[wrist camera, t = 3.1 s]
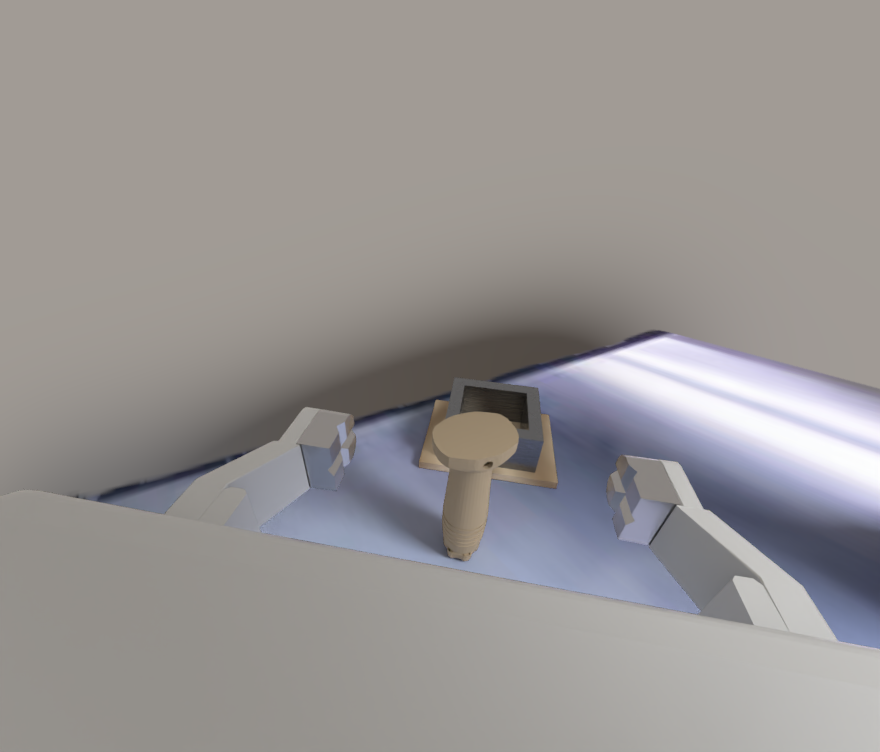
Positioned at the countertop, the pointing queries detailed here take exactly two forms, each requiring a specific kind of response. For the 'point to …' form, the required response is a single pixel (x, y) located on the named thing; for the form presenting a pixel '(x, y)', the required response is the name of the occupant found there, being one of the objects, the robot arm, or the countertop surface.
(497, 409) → the square frame
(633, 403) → the countertop surface
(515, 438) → the handle
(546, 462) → the base board
